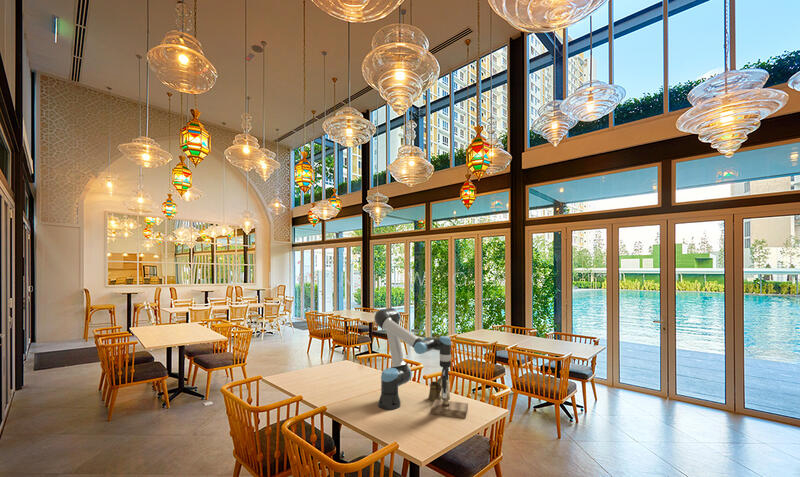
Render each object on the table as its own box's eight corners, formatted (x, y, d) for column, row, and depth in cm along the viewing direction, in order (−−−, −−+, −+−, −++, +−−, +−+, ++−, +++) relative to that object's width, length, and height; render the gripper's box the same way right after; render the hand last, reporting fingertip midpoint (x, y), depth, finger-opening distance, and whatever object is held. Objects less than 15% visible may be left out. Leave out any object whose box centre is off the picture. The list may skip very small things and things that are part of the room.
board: (431, 413, 229) (431, 407, 229) (435, 405, 242) (435, 399, 242) (465, 418, 223) (465, 411, 223) (467, 409, 236) (467, 403, 236)
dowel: (440, 405, 232) (440, 381, 233) (441, 402, 237) (441, 379, 238) (449, 406, 230) (449, 382, 231) (450, 403, 235) (450, 380, 237)
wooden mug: (437, 404, 245) (437, 377, 246) (425, 398, 256) (426, 372, 258) (447, 401, 250) (447, 375, 251) (435, 395, 261) (435, 370, 262)
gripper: (448, 364, 226) (449, 401, 224) (452, 357, 244) (453, 392, 242) (437, 363, 228) (437, 400, 226) (441, 356, 246) (442, 390, 244)
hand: (445, 396), depth 234 cm, fingers closed on dowel, 6 cm apart
